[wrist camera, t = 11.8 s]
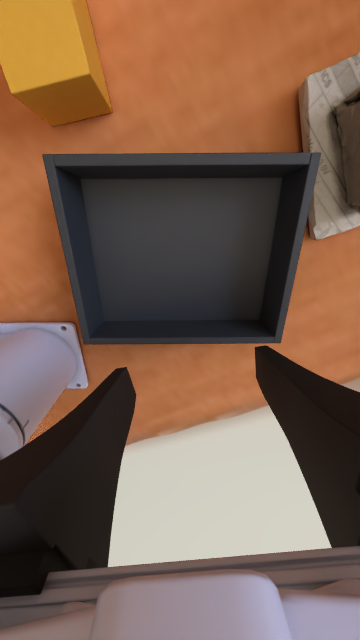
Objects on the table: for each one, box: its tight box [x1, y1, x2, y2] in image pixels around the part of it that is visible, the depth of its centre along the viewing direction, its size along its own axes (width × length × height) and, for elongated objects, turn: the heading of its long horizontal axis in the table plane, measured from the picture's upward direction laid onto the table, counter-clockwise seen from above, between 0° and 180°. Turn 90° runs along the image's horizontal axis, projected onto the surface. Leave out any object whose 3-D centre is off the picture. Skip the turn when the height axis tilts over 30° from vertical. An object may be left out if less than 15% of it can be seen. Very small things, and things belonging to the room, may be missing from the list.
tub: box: [43, 152, 321, 344], centre depth 16 cm, size 16×13×4 cm
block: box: [0, 0, 112, 127], centre depth 11 cm, size 4×8×4 cm, turn 10°
